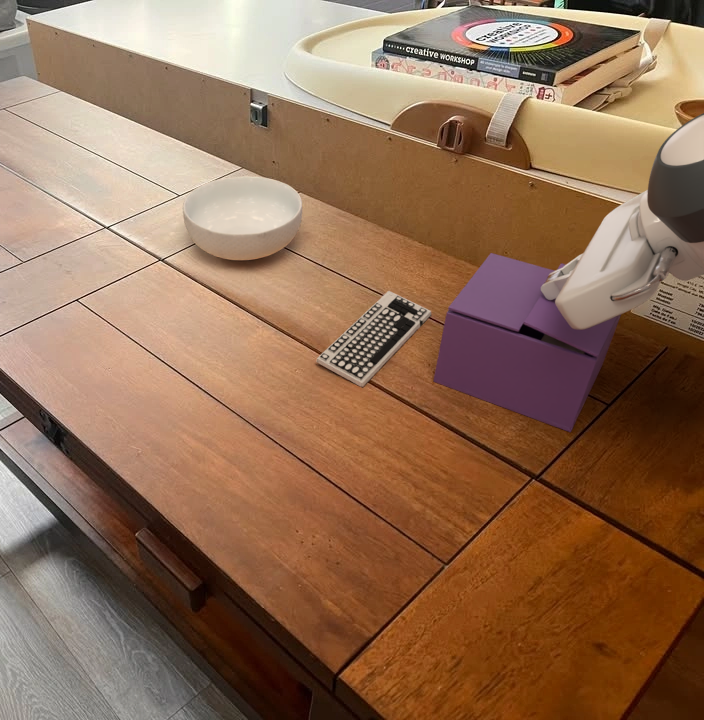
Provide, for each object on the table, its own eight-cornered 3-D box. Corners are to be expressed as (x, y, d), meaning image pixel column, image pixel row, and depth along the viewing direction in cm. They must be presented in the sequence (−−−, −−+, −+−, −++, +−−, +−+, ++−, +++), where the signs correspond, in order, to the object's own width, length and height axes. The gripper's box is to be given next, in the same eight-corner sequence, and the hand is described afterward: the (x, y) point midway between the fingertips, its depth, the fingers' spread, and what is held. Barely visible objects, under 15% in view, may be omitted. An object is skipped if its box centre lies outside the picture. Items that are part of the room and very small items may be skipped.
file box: (602, 365, 87) (629, 291, 80) (570, 432, 79) (598, 355, 72) (474, 324, 94) (490, 252, 87) (433, 381, 85) (447, 307, 79)
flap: (627, 293, 81) (629, 291, 80) (596, 357, 73) (598, 355, 72) (560, 265, 83) (561, 263, 83) (522, 323, 75) (524, 321, 75)
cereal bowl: (187, 219, 116) (185, 176, 112) (296, 216, 116) (298, 173, 112) (182, 279, 103) (179, 233, 99) (305, 277, 103) (307, 231, 98)
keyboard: (362, 387, 85) (364, 377, 84) (315, 366, 88) (315, 356, 87) (431, 315, 95) (433, 304, 94) (386, 298, 98) (388, 288, 97)
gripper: (682, 313, 62) (533, 365, 72) (720, 211, 75) (589, 268, 85) (641, 251, 61) (496, 312, 72) (686, 158, 74) (558, 222, 84)
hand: (547, 287), depth 78 cm, fingers closed
